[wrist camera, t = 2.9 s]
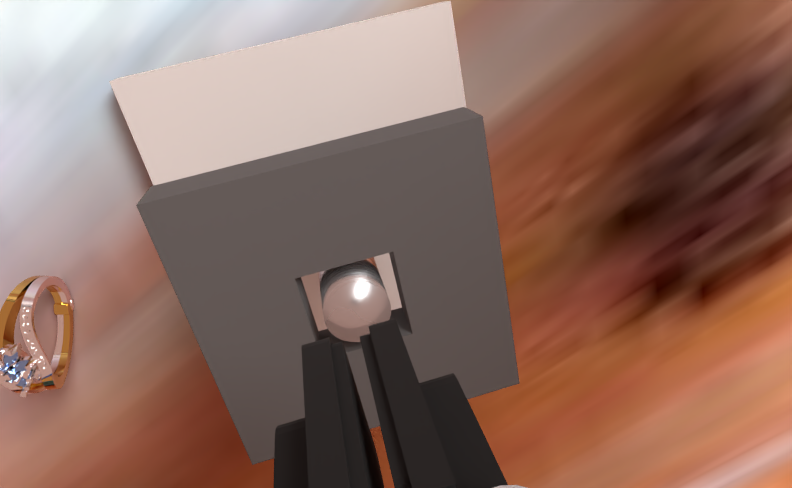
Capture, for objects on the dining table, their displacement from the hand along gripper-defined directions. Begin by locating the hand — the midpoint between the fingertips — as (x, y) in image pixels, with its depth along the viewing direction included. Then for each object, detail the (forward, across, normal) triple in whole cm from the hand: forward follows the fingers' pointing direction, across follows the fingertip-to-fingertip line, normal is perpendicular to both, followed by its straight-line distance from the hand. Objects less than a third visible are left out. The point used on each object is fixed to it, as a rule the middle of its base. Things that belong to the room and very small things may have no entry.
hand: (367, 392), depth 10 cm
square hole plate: (+15, 0, +6) cm, 16 cm away
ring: (+27, +19, +8) cm, 34 cm away
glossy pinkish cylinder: (+25, 0, +6) cm, 26 cm away
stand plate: (+27, 0, +6) cm, 28 cm away
